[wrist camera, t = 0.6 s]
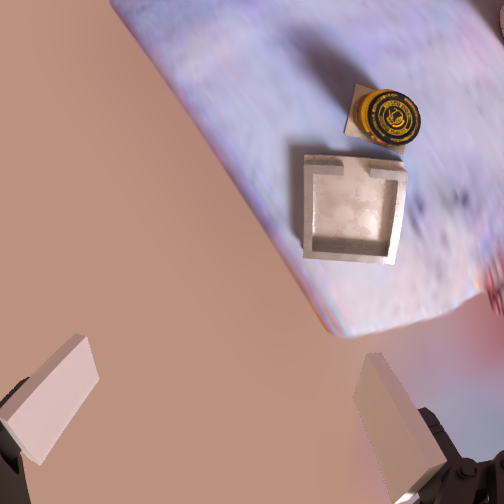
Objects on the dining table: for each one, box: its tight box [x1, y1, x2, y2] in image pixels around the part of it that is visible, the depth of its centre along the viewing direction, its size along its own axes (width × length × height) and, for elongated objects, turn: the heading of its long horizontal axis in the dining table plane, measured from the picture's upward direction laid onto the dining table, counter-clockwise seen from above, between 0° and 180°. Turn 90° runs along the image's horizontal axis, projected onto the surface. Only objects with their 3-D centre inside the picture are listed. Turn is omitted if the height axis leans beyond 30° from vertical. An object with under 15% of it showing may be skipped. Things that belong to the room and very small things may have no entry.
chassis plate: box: [303, 154, 408, 265], centre depth 35 cm, size 15×14×4 cm
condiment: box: [344, 84, 421, 154], centre depth 24 cm, size 7×8×12 cm
